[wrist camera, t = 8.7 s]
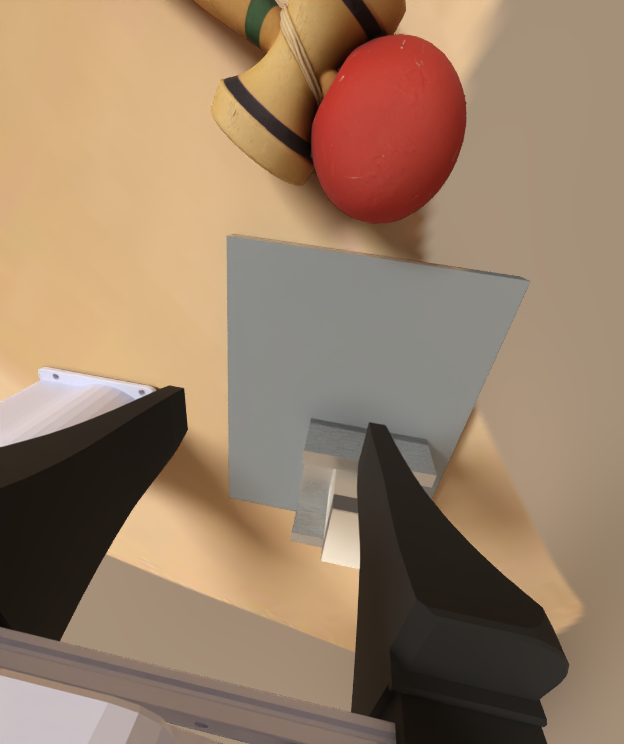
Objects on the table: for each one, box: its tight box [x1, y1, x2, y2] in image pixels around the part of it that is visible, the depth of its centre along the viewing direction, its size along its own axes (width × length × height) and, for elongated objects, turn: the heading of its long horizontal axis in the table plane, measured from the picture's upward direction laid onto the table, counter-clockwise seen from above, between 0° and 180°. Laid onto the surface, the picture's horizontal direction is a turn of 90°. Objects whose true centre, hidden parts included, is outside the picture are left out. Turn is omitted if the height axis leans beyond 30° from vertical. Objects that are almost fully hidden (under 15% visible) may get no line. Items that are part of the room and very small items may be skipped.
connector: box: [321, 469, 360, 569], centre depth 21 cm, size 4×5×5 cm
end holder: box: [291, 418, 437, 547], centre depth 22 cm, size 8×9×3 cm
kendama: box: [193, 0, 466, 223], centre depth 12 cm, size 8×6×18 cm
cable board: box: [227, 234, 530, 511], centre depth 22 cm, size 16×21×1 cm
